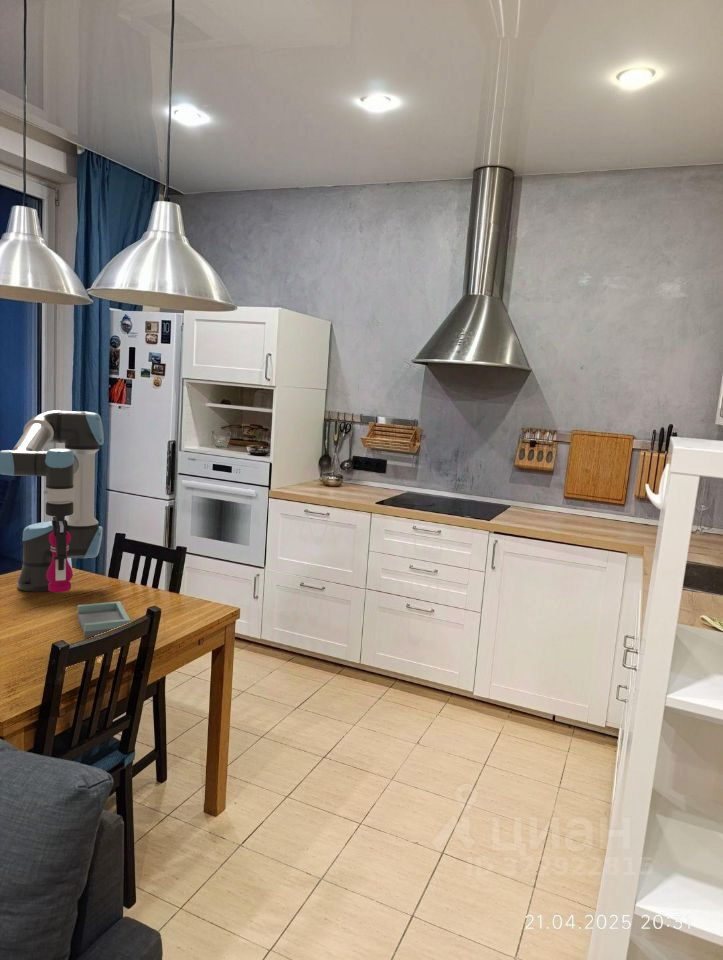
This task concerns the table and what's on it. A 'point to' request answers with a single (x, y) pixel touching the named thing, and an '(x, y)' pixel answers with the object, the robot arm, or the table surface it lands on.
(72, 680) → the table surface
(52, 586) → the pepper mill
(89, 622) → the tray
